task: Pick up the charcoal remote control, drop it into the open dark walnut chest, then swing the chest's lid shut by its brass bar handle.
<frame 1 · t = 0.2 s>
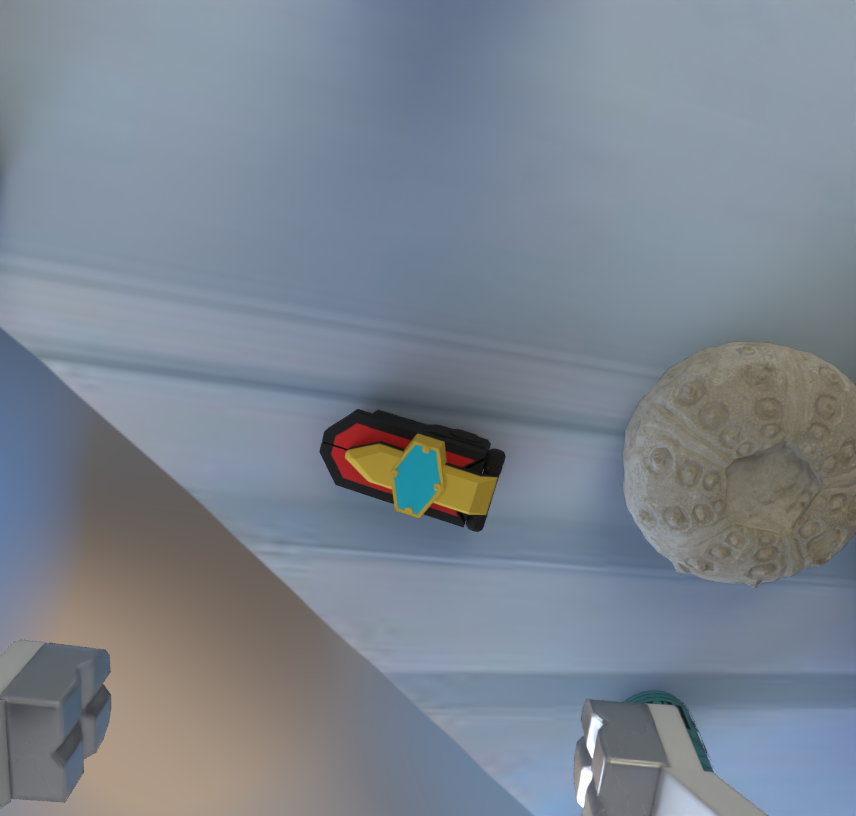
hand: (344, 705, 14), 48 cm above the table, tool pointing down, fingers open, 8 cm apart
gadget: (410, 450, 63), on the table
beverage bottle: (646, 707, 69), on the table
decorative shell: (725, 444, 62), on the table
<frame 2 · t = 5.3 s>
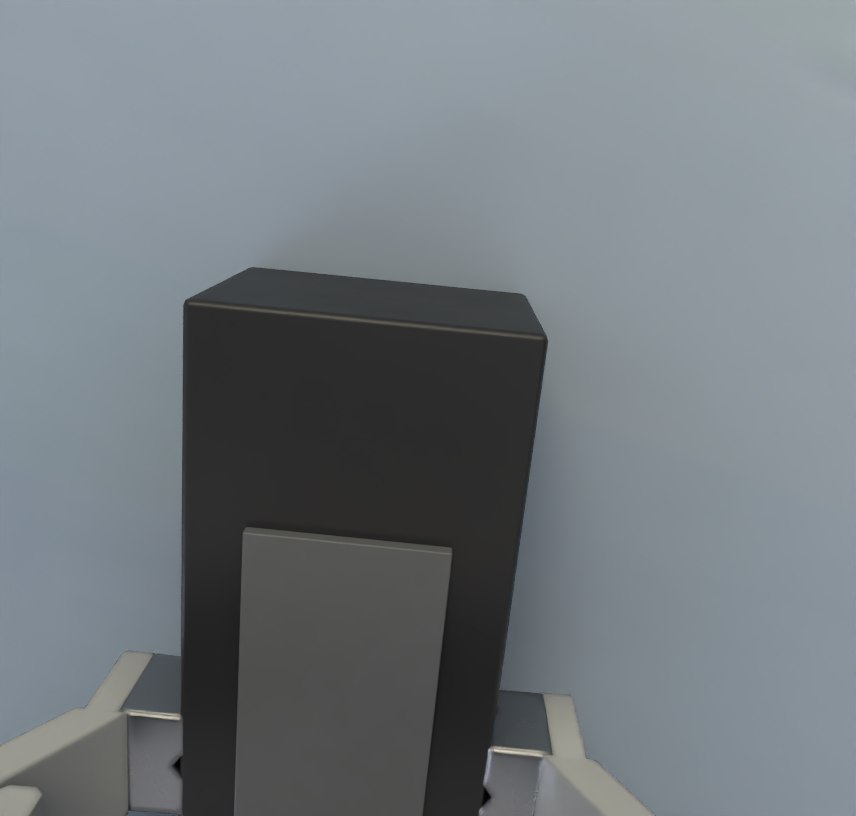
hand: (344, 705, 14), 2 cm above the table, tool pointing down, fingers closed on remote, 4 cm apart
remote: (358, 649, 15), on the table, touching gripper
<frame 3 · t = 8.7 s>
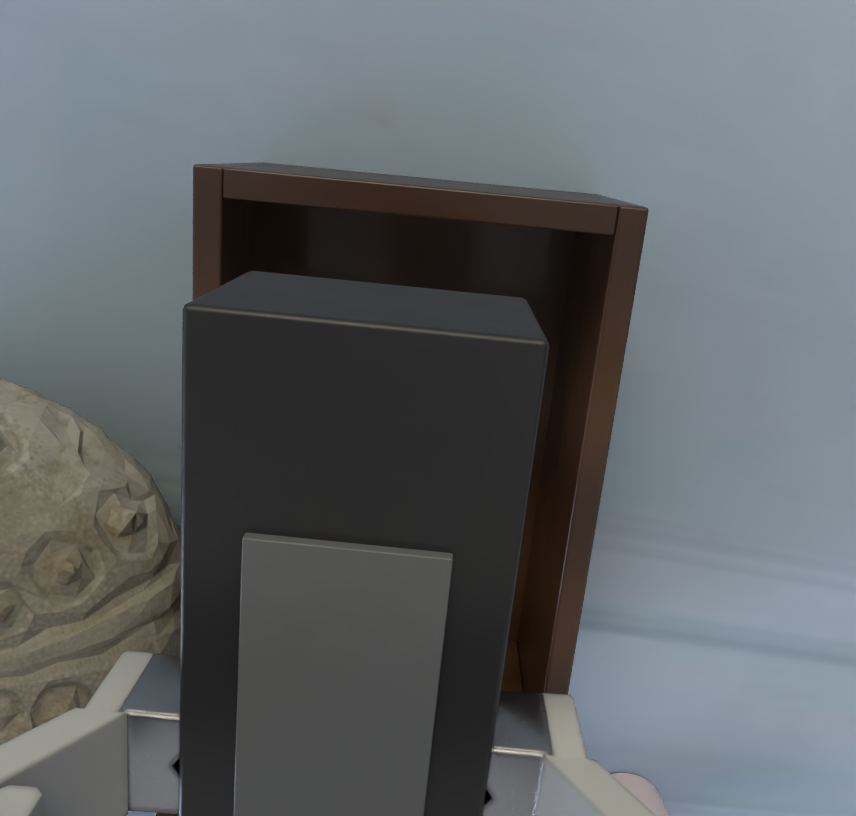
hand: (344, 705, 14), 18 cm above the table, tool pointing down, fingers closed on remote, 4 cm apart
remote: (357, 653, 15), point 17 cm above the table, touching gripper
smoothie: (619, 803, 37), on the table
chest: (408, 425, 32), on the table
decorative shell: (13, 545, 34), on the table
when the fingers open (7 cm above the table, at t = 13.1 s): remote stays where it is, resting on chest.
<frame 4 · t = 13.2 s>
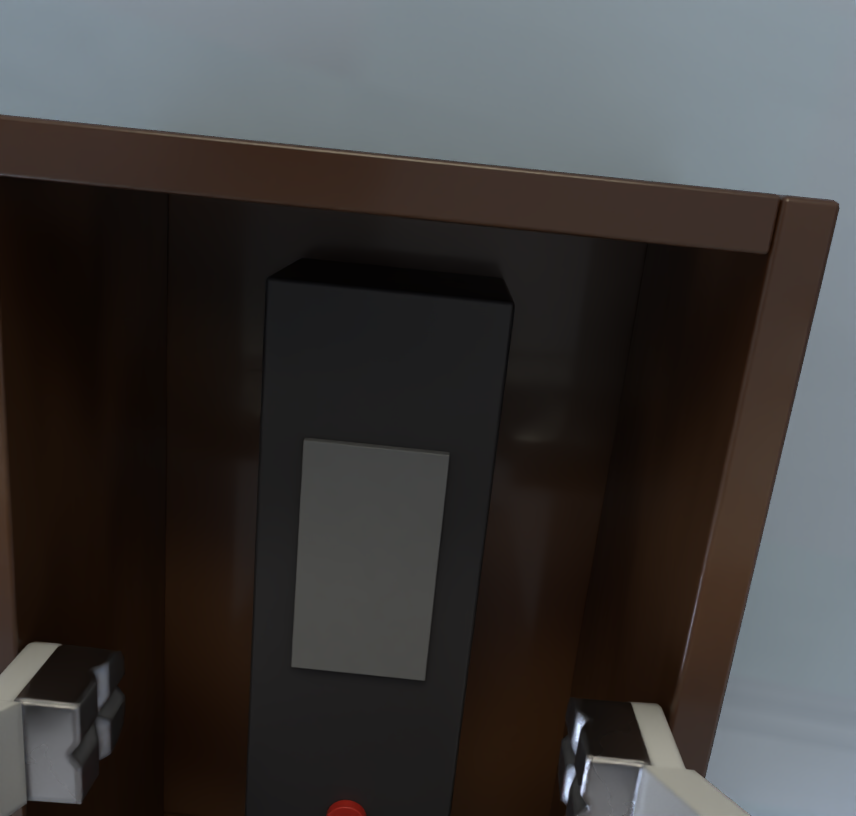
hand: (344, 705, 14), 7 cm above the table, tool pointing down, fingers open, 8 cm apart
remote: (377, 552, 20), point 1 cm above the table, touching chest
chest: (380, 538, 21), on the table
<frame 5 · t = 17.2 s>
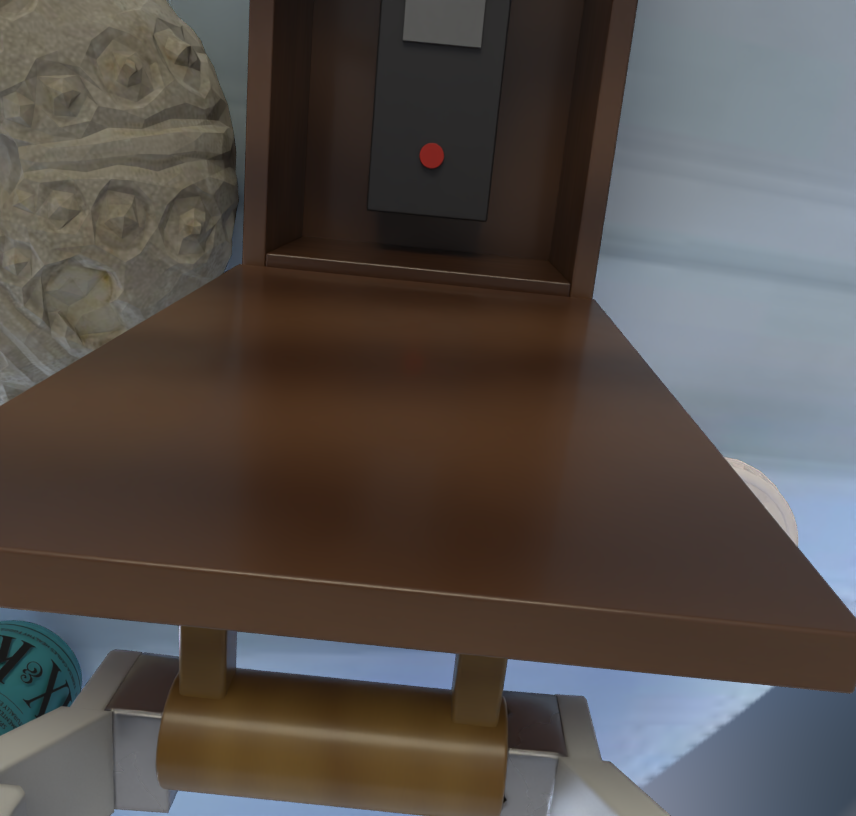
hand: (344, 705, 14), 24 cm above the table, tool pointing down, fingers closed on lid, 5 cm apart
lid: (386, 458, 19), point 18 cm above the table, hinge at 92.0°, touching gripper
remote: (445, 29, 32), point 1 cm above the table, touching chest
smoothie: (644, 453, 38), on the table
chest: (446, 33, 33), on the table
beverage bottle: (38, 651, 42), on the table
decorative shell: (60, 173, 35), on the table
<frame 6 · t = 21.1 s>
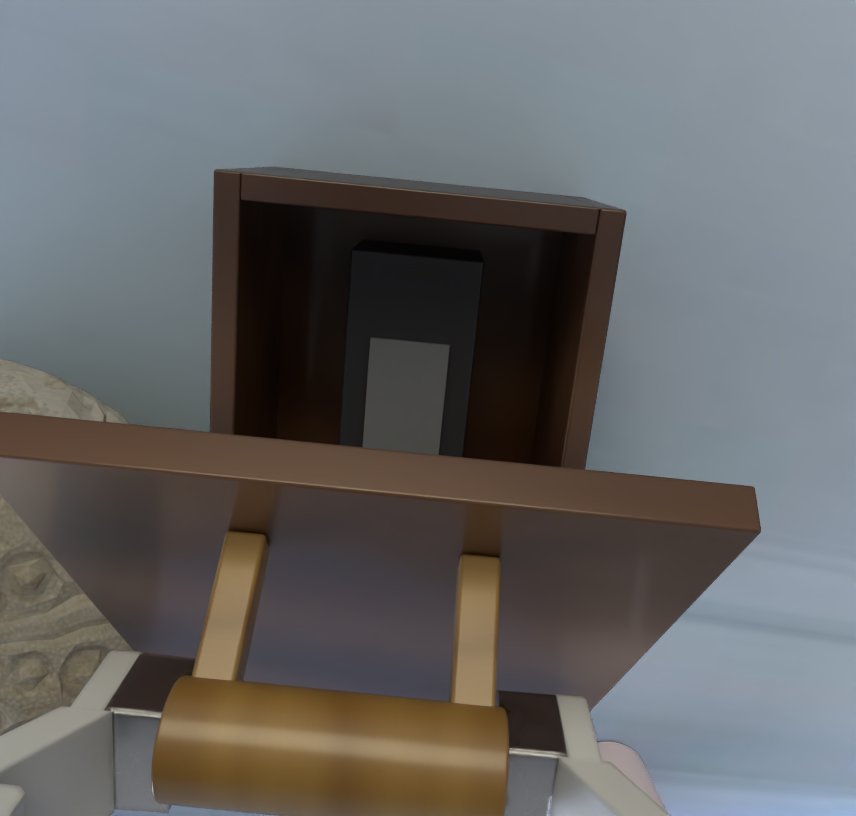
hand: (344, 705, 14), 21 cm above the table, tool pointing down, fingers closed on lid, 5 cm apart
lid: (358, 741, 19), point 16 cm above the table, hinge at 39.7°, touching gripper
remote: (406, 418, 33), point 1 cm above the table, touching chest
smoothie: (604, 770, 39), on the table
chest: (407, 412, 34), on the table
decorative shell: (35, 525, 36), on the table
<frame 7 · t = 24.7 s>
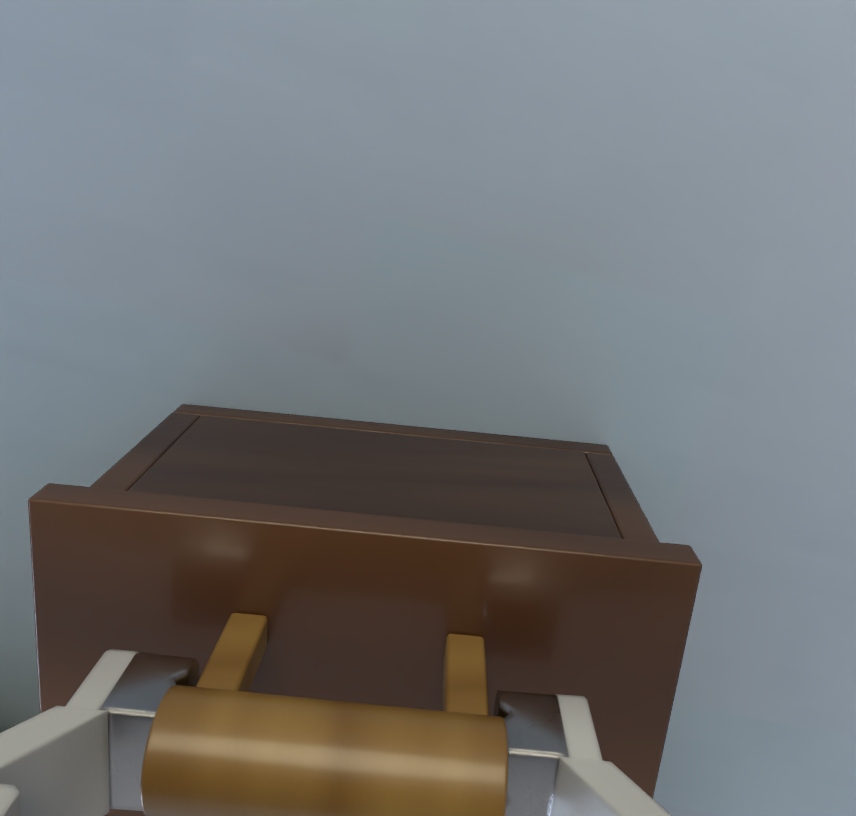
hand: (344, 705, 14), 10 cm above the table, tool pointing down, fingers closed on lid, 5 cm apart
chest: (371, 702, 26), on the table
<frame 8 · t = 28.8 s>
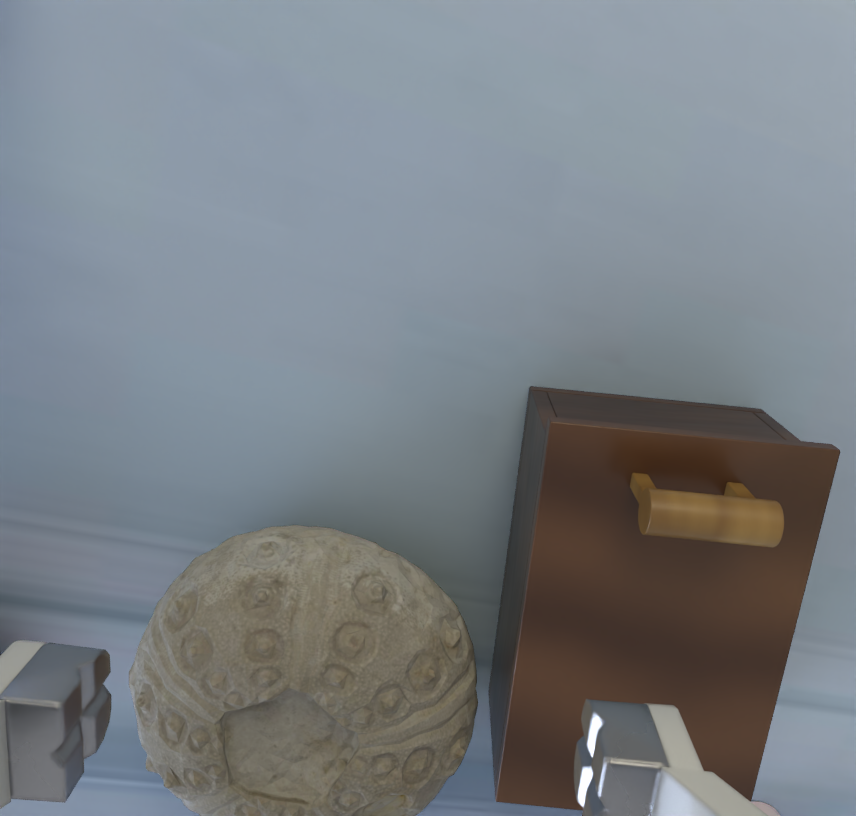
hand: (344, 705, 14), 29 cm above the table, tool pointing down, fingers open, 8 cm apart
lid: (664, 662, 35), point 10 cm above the table, hinge at -0.2°, touching chest
chest: (616, 558, 45), on the table
decorative shell: (321, 637, 47), on the table
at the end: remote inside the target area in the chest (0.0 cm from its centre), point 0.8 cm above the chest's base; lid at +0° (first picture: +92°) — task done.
